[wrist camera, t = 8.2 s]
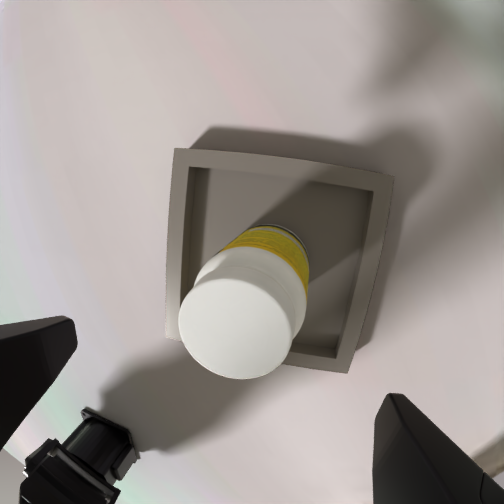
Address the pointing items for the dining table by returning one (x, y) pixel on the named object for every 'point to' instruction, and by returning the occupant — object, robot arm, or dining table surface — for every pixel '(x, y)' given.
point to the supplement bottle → (247, 303)
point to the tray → (294, 219)
